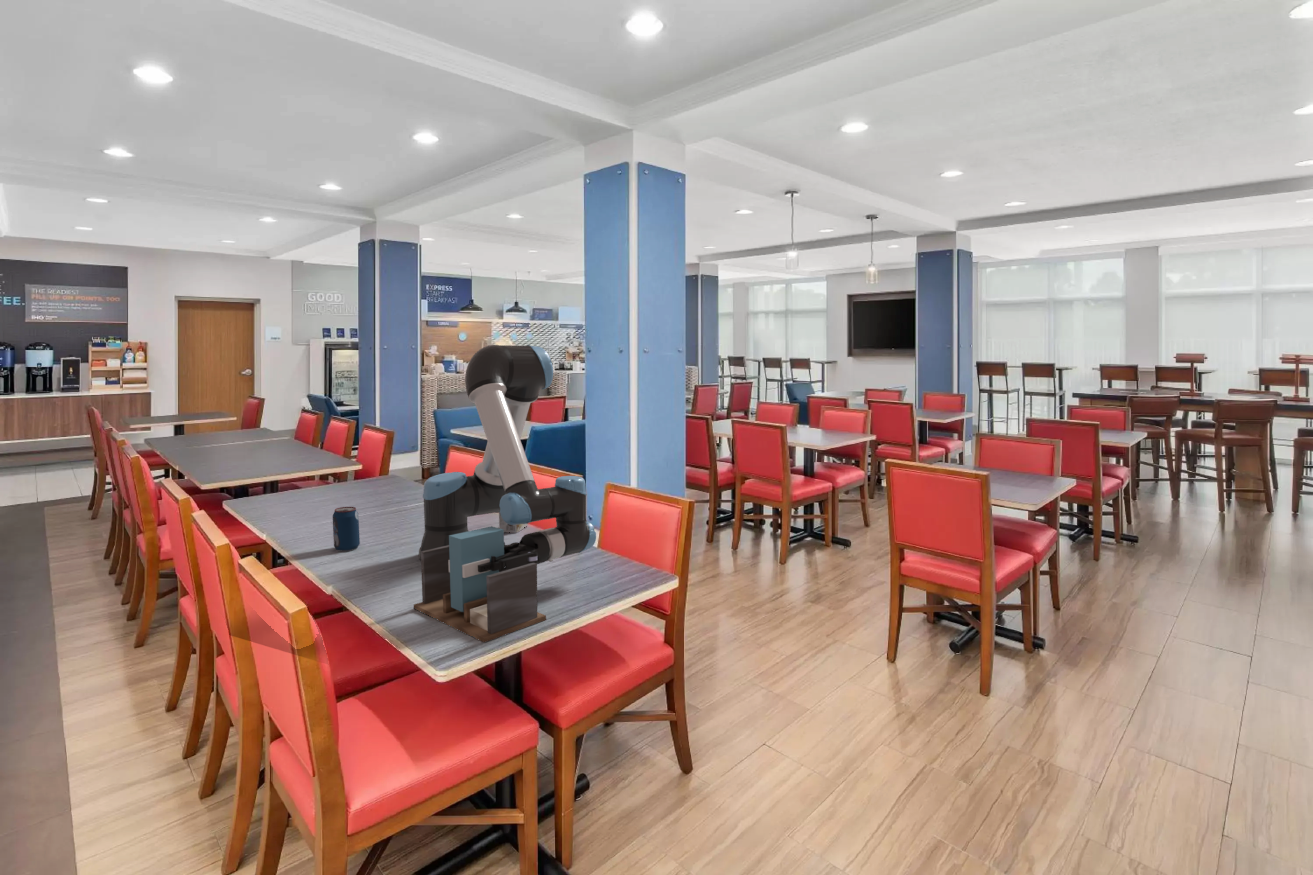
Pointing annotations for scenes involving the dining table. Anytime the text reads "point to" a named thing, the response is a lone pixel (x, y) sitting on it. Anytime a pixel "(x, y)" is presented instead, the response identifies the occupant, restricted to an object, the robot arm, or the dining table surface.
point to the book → (467, 551)
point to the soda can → (346, 529)
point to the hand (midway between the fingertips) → (456, 568)
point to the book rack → (485, 617)
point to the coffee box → (510, 526)
